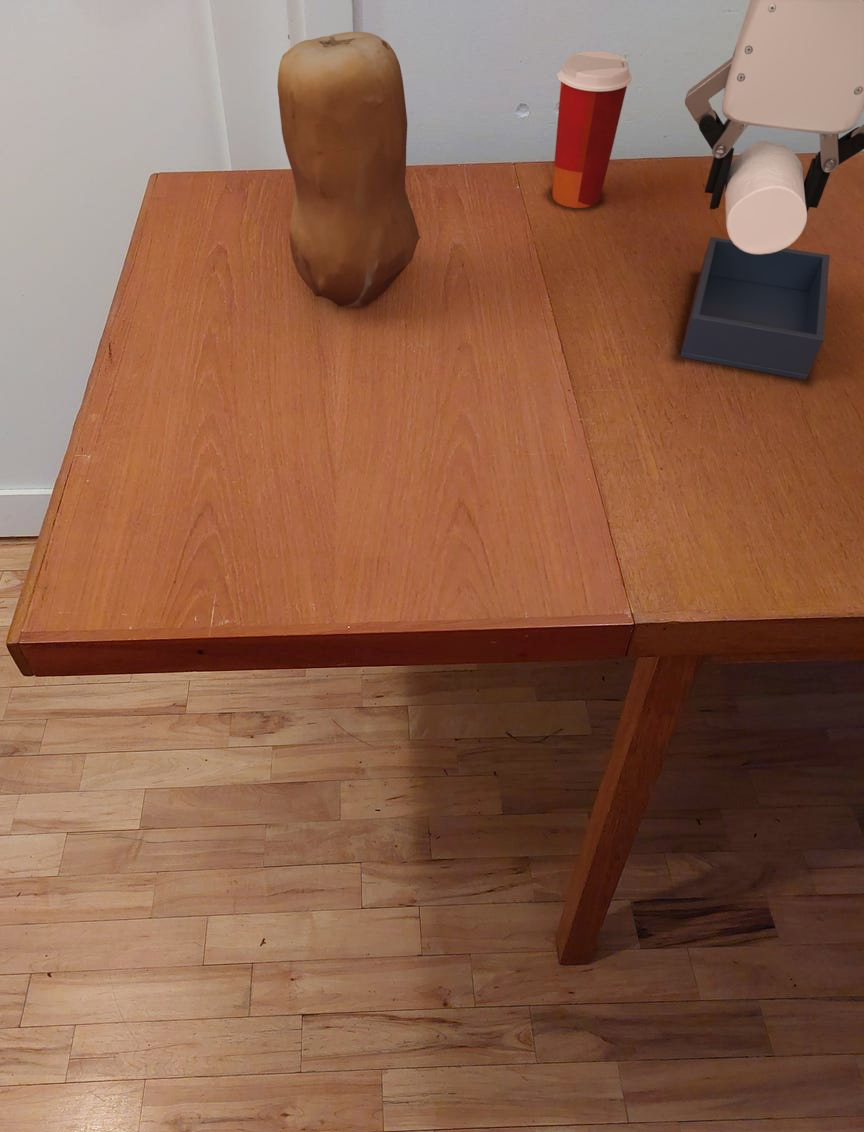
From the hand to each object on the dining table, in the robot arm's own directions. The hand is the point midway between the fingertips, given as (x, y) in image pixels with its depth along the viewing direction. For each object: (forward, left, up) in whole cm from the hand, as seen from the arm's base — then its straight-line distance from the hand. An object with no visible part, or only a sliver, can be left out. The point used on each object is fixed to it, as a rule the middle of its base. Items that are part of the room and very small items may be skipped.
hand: (757, 205), depth 74 cm
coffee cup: (+37, -13, -18) cm, 43 cm away
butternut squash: (+31, +22, -18) cm, 42 cm away
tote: (+5, -12, -18) cm, 22 cm away
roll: (0, 0, -1) cm, 1 cm away
